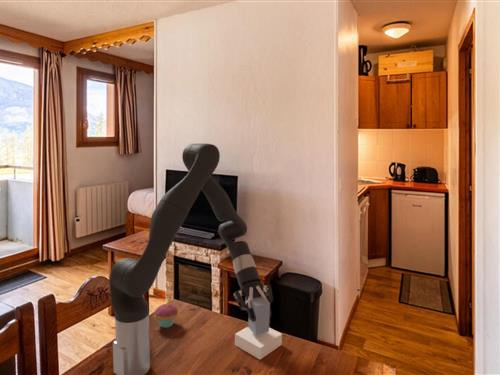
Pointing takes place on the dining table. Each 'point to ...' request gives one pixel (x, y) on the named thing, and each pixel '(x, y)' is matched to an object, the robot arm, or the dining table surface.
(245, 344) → the base
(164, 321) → the cupcake
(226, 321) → the dining table surface
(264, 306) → the block
